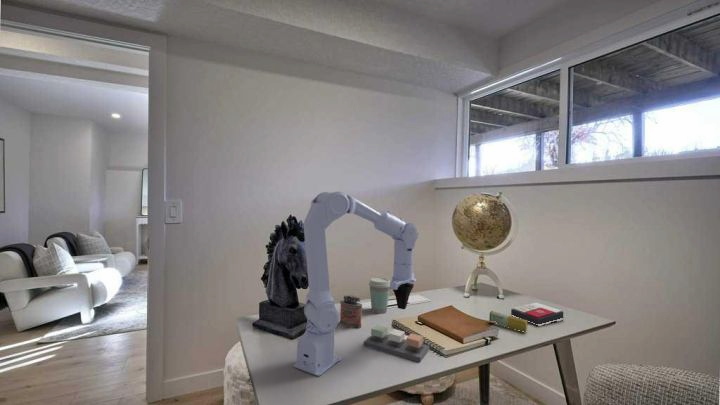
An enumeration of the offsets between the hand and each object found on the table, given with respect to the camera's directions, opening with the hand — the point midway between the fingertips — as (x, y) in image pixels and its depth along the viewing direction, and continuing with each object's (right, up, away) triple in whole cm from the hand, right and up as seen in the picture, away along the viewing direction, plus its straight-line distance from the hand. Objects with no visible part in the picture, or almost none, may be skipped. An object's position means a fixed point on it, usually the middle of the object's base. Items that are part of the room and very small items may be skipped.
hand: (401, 308), depth 91 cm
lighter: (-16, -10, +12) cm, 22 cm away
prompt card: (+1, -10, +3) cm, 11 cm away
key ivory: (-2, -8, -3) cm, 9 cm away
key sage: (-7, -8, 0) cm, 10 cm away
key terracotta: (+3, -8, -6) cm, 10 cm away
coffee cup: (-5, -11, +27) cm, 29 cm away
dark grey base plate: (-2, -10, -3) cm, 11 cm away
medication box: (+39, -12, +15) cm, 43 cm away
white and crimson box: (+54, -13, +24) cm, 61 cm away
